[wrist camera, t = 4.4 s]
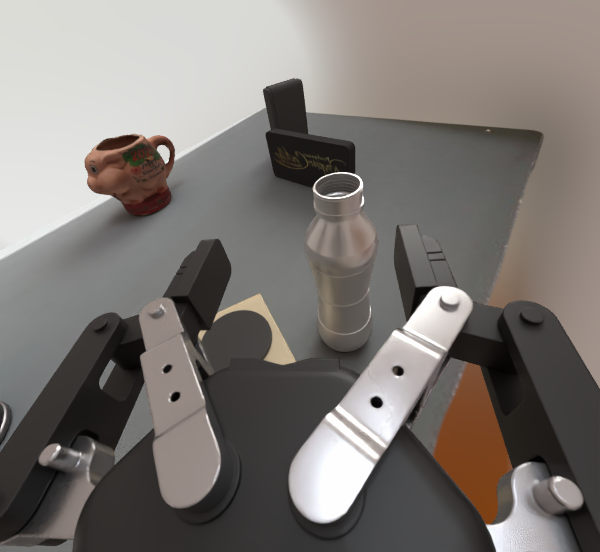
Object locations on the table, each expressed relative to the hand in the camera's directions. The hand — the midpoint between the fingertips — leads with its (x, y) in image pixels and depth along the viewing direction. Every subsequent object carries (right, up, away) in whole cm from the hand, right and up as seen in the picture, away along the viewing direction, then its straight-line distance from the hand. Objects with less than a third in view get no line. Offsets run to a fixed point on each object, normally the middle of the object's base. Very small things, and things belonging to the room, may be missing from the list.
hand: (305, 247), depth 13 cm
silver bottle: (+5, -9, +22) cm, 24 cm away
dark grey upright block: (-2, +33, +62) cm, 70 cm away
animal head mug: (-34, +16, +53) cm, 65 cm away
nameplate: (+2, +18, +48) cm, 51 cm away
